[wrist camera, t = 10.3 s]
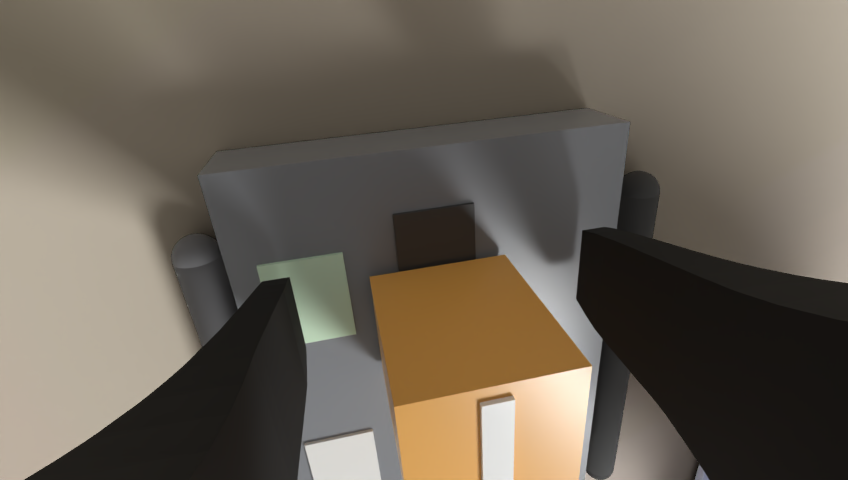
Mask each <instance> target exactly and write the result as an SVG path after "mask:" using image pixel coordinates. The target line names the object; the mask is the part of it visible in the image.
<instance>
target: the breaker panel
mask: <svg viewBox="0 0 848 480" xmlns="http://www.w3.org/2000/svg"><path fill="white" fill-rule="evenodd" d="M629 129H630V122H629V121H626V120H623V119H620V118H617V117H614V116H611V115H608V114H605V113H602V112H599V111H596V110H593V109H590V108H583V109H574V110H566V111H557V112H549V113H540V114H532V115H523V116H515V117H506V118H498V119H489V120H481V121H472V122H463V123H455V124H446V125H438V126H429V127H421V128H412V129H404V130H395V131H387V132H378V133H370V134H361V135H353V136H344V137H336V138H327V139H318V140H310V141H301V142H293V143H284V144H276V145H267V146H259V147H250V148H242V149H233V150H225V151H216V153H215V154H214V155H213V156H212V158H211V159H210V160H209V161H208V163H207V164H206V165H205V166H204V168H203V169H202V170H201V171H200V173H199V174H198V175H197V176H198V179H199V183H200V186H201V189H202V193H203V196H204V199H205V202H206V206H207V209H208V212H209V216H210V219H211V222H212V226H213V229H214V232H215V235H216V239H217V242H218V245H219V249H220V252H221V255H222V258H223V262H224V265H225V268H226V272H227V275H228V278H229V281H230V285H231V288H232V291H233V295H234V298H235V301H236V305H237V308H238V309H239V308H240V306H241V305H242V304H243V303H244V302H245V301H246V299H247V298H248V297H249V296H250V295H251V293H252V292H253V291H254V290H255V289H256V288H257V287H258V285H259V284H260V283H261V282H262V281H268V280H274V279H280V278H287V277H290V281H291V285H292V289H293V293H294V298H295V302H296V306H297V310H298V315H299V319H300V323H301V327H302V332H303V336H304V340H305V345H306V353H307V395H306V404H305V414H304V423H303V433H302V442H301V451H300V460H299V469H298V480H402V475H401V470H400V464H399V458H398V453H397V447H396V441H395V436H394V430H393V424H392V419H391V413H390V407H389V402H388V396H387V390H386V385H385V379H384V373H383V367H382V360H381V353H380V346H379V340H378V333H377V326H376V319H375V312H374V305H373V298H372V291H371V284H370V277H371V276H377V275H383V274H389V273H395V272H401V271H408V270H414V269H420V268H426V267H432V266H438V265H444V264H450V263H457V262H463V261H469V260H475V259H481V258H487V257H493V256H499V255H506V257H507V258H508V259H509V260H510V262H511V263H512V264H513V266H514V267H515V268H516V269H517V271H518V272H519V273H520V274H521V276H522V277H523V278H524V280H525V281H526V282H527V283H528V285H529V286H530V287H531V289H532V290H533V291H534V292H535V294H536V295H537V296H538V297H539V299H540V300H541V301H542V303H543V304H544V305H545V306H546V308H547V309H548V310H549V311H550V313H551V314H552V315H553V317H554V318H555V319H556V320H557V322H558V323H559V324H560V325H561V327H562V328H563V329H564V331H565V332H566V333H567V334H568V336H569V337H570V338H571V339H572V341H573V342H574V343H575V345H576V346H577V347H578V348H579V350H580V351H581V352H582V353H583V355H584V356H585V357H586V359H587V360H588V361H589V362H590V364H591V365H592V373H591V381H590V390H589V398H588V407H587V415H586V424H585V432H584V440H583V449H582V457H581V466H580V474H579V480H585V474H586V466H587V458H588V450H589V442H590V434H591V426H592V419H593V411H594V403H595V395H596V387H597V379H598V372H599V364H600V356H601V348H602V340H603V339H602V338H601V336H600V335H599V334H598V333H597V332H596V330H595V329H594V327H593V326H592V324H591V323H590V321H589V320H588V318H587V317H586V315H585V313H584V312H583V310H582V308H581V306H580V305H579V303H578V301H577V300H576V294H577V283H578V272H579V261H580V250H581V239H582V230H588V229H594V228H600V227H609V228H615V229H617V223H618V215H619V207H620V199H621V191H622V183H623V176H624V168H625V160H626V152H627V144H628V136H629Z"/></svg>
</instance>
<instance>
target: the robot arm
mask: <svg viewBox="0 0 848 480" xmlns="http://www.w3.org/2000/svg"><path fill="white" fill-rule="evenodd" d="M576 300H577V301H578V303H579V305H580V306H581V308H582V310H583V312H584V313H585V315H586V317H587V318H588V320H589V321H590V323H591V324H592V326H593V327H594V329H595V330H596V332H597V333H598V334H599V335H600V336H601V338H602V339H603V340H604V341H605V343H606V344H607V345H608V346H609V347H610V348H611V350H612V351H613V352H614V353H615V354H616V356H617V357H618V358H619V359H620V360H621V361H622V363H623V364H624V365H625V366H626V367H627V368H628V370H629V371H630V372H631V373H632V374H633V375H634V377H635V378H636V379H637V380H638V381H639V382H640V384H641V385H642V386H643V387H644V388H645V389H646V391H647V392H648V393H649V394H650V395H651V396H652V398H653V399H654V400H655V401H656V403H657V404H658V405H659V407H660V408H661V409H662V410H663V412H664V413H665V414H666V416H667V417H668V419H669V420H670V421H671V423H672V424H673V426H674V427H675V429H676V430H677V432H678V433H679V434H680V436H681V437H682V439H683V440H684V442H685V443H686V445H687V446H688V448H689V449H690V450H691V452H692V454H693V455H694V457H695V458H696V460H697V461H698V463H699V466H698V470H697V473H696V477H695V480H848V283H842V282H835V281H828V280H821V279H815V278H809V277H803V276H797V275H792V274H787V273H782V272H777V271H772V270H767V269H762V268H757V267H753V266H749V265H744V264H740V263H736V262H733V261H729V260H725V259H721V258H717V257H713V256H710V255H706V254H702V253H699V252H695V251H692V250H689V249H685V248H682V247H678V246H675V245H672V244H668V243H665V242H662V241H658V240H655V239H652V238H648V237H645V236H642V235H638V234H635V233H631V232H627V231H623V230H619V229H615V228H609V227H600V228H594V229H588V230H582V239H581V250H580V261H579V272H578V283H577V294H576ZM306 395H307V353H306V345H305V340H304V336H303V332H302V327H301V323H300V319H299V315H298V310H297V306H296V302H295V298H294V293H293V289H292V285H291V281H290V277H287V278H280V279H274V280H268V281H262V282H261V283H260V284H259V285H258V287H257V288H256V289H255V290H254V291H253V292H252V293H251V295H250V296H249V297H248V298H247V299H246V301H245V302H244V303H243V304H242V305H241V306H240V308H239V309H238V310H237V311H236V312H235V313H234V314H233V315H232V317H231V318H230V319H229V320H228V321H227V322H226V323H225V324H224V326H223V327H222V328H221V329H220V330H219V331H218V332H217V333H216V334H215V335H214V336H213V337H212V338H211V339H210V340H209V341H208V342H207V343H206V344H205V345H204V346H203V347H202V348H201V349H200V350H199V351H198V352H197V353H196V354H195V355H194V356H193V357H192V358H191V359H190V360H189V361H188V362H187V363H186V364H185V365H184V366H183V367H182V368H181V369H179V370H178V371H177V372H176V373H175V374H174V375H173V376H172V377H170V378H169V379H168V380H167V381H166V382H164V383H163V384H162V385H161V386H160V387H158V388H157V389H156V390H155V391H154V392H152V393H151V394H150V395H149V396H147V397H146V398H145V399H144V400H142V401H141V402H140V403H138V404H137V405H136V406H134V407H133V408H131V409H130V410H129V411H127V412H126V413H125V414H123V415H122V416H120V417H119V418H118V419H116V420H115V421H113V422H112V423H111V424H109V425H108V426H107V427H105V428H104V429H102V430H101V431H100V432H98V433H97V434H96V435H94V436H93V437H91V438H90V439H88V440H87V441H85V442H84V443H82V444H81V445H79V446H78V447H76V448H74V449H73V450H71V451H70V452H68V453H67V454H65V455H64V456H62V457H61V458H59V459H57V460H56V461H54V462H53V463H51V464H49V465H48V466H46V467H44V468H43V469H41V470H39V471H38V472H36V473H35V474H33V475H31V476H30V477H28V478H26V479H25V480H298V469H299V460H300V451H301V442H302V433H303V423H304V414H305V404H306Z"/></svg>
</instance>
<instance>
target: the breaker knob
mask: <svg viewBox="0 0 848 480" xmlns="http://www.w3.org/2000/svg"><path fill="white" fill-rule="evenodd" d="M370 284H371V291H372V298H373V305H374V312H375V319H376V326H377V333H378V340H379V346H380V353H381V360H382V367H383V373H384V379H385V385H386V390H387V396H388V402H389V407H390V413H391V419H392V424H393V430H394V436H395V441H396V447H397V453H398V458H399V464H400V470H401V475H402V480H579V474H580V466H581V457H582V449H583V440H584V432H585V424H586V415H587V407H588V398H589V390H590V381H591V373H592V365H591V364H590V362H589V361H588V360H587V359H586V357H585V356H584V355H583V353H582V352H581V351H580V350H579V348H578V347H577V346H576V345H575V343H574V342H573V341H572V339H571V338H570V337H569V336H568V334H567V333H566V332H565V331H564V329H563V328H562V327H561V325H560V324H559V323H558V322H557V320H556V319H555V318H554V317H553V315H552V314H551V313H550V311H549V310H548V309H547V308H546V306H545V305H544V304H543V303H542V301H541V300H540V299H539V297H538V296H537V295H536V294H535V292H534V291H533V290H532V289H531V287H530V286H529V285H528V283H527V282H526V281H525V280H524V278H523V277H522V276H521V274H520V273H519V272H518V271H517V269H516V268H515V267H514V266H513V264H512V263H511V262H510V260H509V259H508V258H507V257H506V255H499V256H493V257H487V258H481V259H475V260H469V261H463V262H457V263H450V264H444V265H438V266H432V267H426V268H420V269H414V270H408V271H401V272H395V273H389V274H383V275H377V276H371V277H370Z"/></svg>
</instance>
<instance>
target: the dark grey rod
mask: <svg viewBox="0 0 848 480" xmlns="http://www.w3.org/2000/svg"><path fill="white" fill-rule="evenodd" d="M659 195H660V186H659V184H658V181H657V180H656V178H655V177H654V176H652V175H651V174H649V173H647V172H643V171H634V172H631V173H628V174H626V175H625V176H624V177H623V183H622V191H621V199H620V207H619V215H618V223H617V229H619V230H623V231H627V232H631V233H635V234H638V235H642V236H645V237H648V238H652V237H653V231H654V225H655V219H656V213H657V207H658V201H659ZM629 374H630V371H629V370H628V368H627V367H626V366H625V365H624V364H623V363H622V361H621V360H620V359H619V358H618V357H617V356H616V354H615V353H614V352H613V351H612V350H611V348H610V347H609V346H608V345H607V344H606V343H605V341H604V340H602V348H601V356H600V364H599V372H598V379H597V387H596V395H595V403H594V411H593V419H592V426H591V434H590V442H589V450H588V458H587V466H586V472H587V473H588V474H589V475H590V476H591V477H593V478H595V479H598V480H604V479H607V478H608V477H610V476H611V474H612V472H613V470H614V464H615V458H616V452H617V446H618V440H619V434H620V428H621V422H622V416H623V410H624V404H625V398H626V392H627V386H628V380H629Z"/></svg>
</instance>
